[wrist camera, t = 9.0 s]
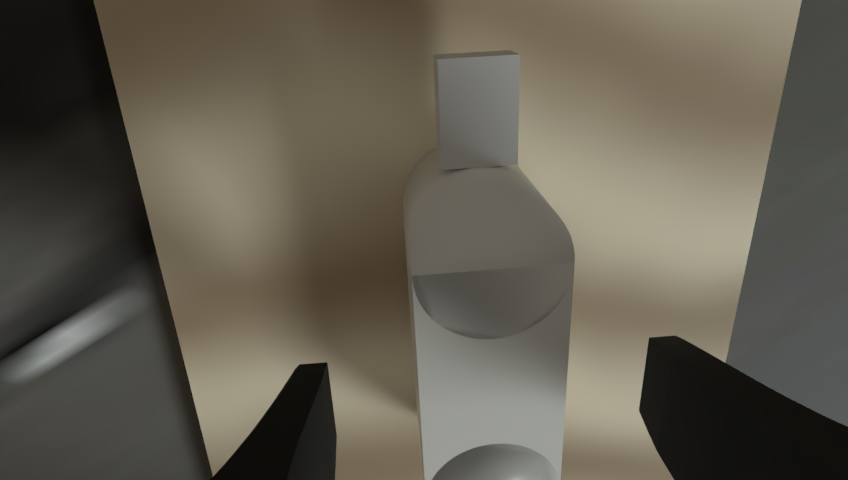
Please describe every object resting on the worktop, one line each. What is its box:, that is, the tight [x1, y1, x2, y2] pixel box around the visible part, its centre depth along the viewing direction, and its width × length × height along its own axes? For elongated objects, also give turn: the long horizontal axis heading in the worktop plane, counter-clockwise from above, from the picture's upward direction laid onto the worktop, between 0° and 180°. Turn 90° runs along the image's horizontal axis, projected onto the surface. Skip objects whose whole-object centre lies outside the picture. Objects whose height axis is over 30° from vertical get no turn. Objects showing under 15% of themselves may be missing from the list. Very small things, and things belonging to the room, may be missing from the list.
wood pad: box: [93, 0, 802, 480], centre depth 16 cm, size 18×16×1 cm
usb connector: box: [403, 50, 575, 480], centre depth 14 cm, size 11×3×4 cm, turn 3°
